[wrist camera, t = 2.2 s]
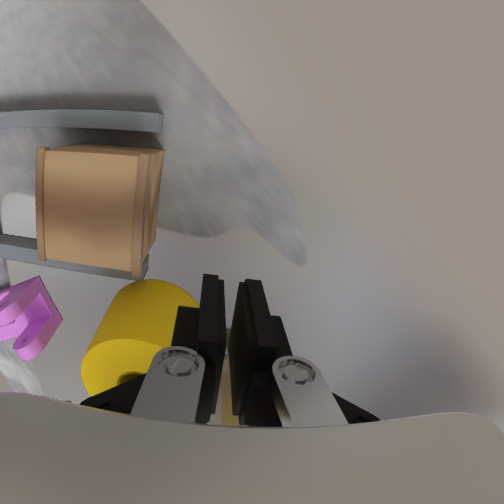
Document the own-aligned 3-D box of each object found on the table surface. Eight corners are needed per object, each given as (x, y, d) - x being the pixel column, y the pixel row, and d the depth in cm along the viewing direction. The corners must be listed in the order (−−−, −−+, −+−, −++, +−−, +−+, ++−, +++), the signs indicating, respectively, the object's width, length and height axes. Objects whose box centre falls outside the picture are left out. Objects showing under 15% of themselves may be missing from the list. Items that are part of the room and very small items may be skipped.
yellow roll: (139, 368, 34) (123, 432, 25) (93, 297, 30) (58, 355, 21) (219, 345, 33) (221, 413, 24) (179, 265, 29) (164, 323, 21)
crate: (157, 241, 28) (139, 276, 22) (73, 230, 27) (38, 260, 20) (167, 147, 25) (148, 154, 19) (77, 141, 24) (37, 148, 18)
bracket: (39, 275, 28) (7, 309, 22) (63, 319, 30) (38, 358, 24) (-25, 301, 29) (-54, 330, 22) (-4, 337, 31) (-28, 369, 24)
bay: (147, 269, 29) (142, 281, 27) (-13, 244, 26) (-25, 252, 24) (163, 114, 24) (158, 113, 22) (-13, 113, 21) (-28, 114, 19)
